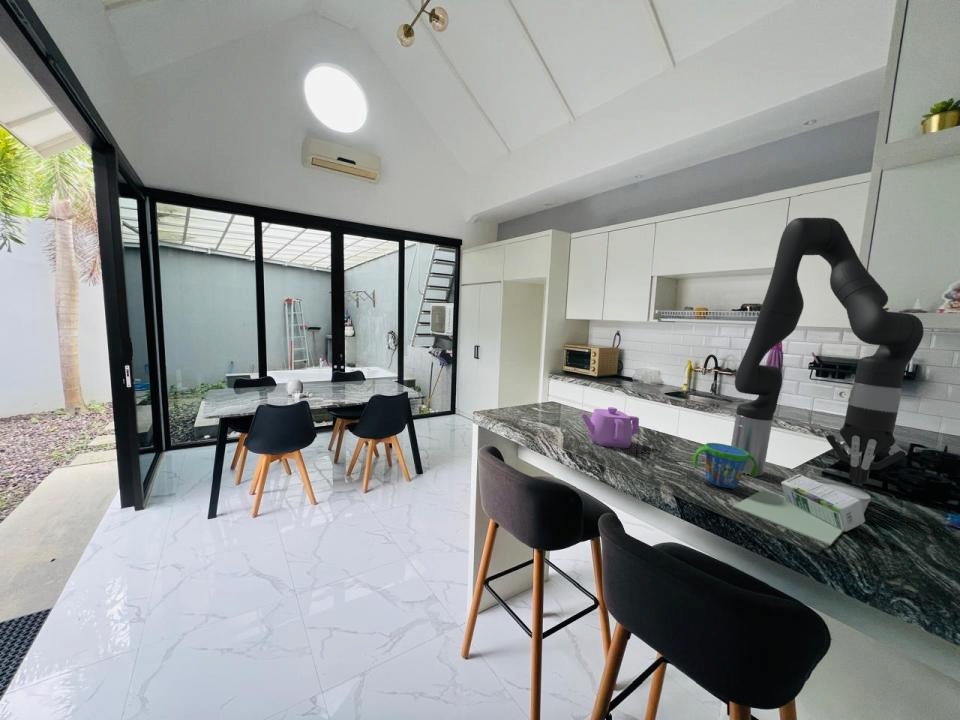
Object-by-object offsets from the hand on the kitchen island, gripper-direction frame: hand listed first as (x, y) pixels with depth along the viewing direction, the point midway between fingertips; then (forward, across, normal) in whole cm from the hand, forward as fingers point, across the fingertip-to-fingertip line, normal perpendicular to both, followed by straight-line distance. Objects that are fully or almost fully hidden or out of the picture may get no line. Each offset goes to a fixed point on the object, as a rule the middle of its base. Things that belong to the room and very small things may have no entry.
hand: (856, 483), depth 85 cm
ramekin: (+12, +4, -16) cm, 20 cm away
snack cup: (+12, +27, -3) cm, 29 cm away
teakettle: (+12, +66, -6) cm, 67 cm away
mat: (+11, +10, +1) cm, 15 cm away
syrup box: (+7, -1, 0) cm, 7 cm away
